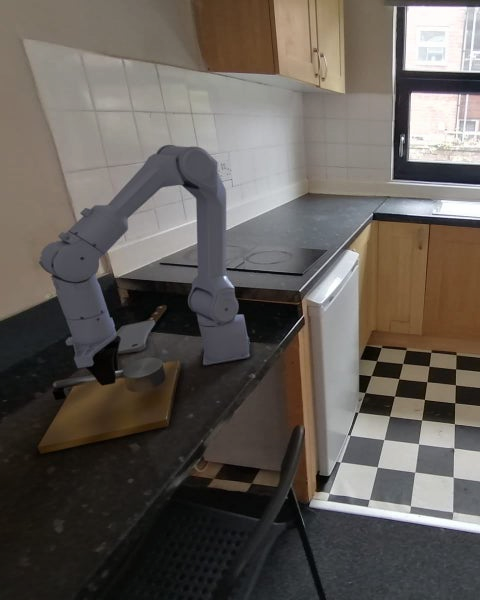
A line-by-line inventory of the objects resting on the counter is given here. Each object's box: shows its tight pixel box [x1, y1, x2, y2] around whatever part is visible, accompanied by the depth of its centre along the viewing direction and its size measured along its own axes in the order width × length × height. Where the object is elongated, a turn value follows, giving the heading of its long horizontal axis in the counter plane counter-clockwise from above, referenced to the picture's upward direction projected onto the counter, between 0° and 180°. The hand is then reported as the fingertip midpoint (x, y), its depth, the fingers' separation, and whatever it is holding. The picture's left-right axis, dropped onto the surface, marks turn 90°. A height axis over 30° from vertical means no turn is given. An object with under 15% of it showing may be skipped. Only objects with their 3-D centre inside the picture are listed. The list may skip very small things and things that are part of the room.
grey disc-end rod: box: [51, 357, 166, 401], centre depth 73 cm, size 17×6×3 cm, turn 111°
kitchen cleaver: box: [116, 304, 168, 355], centre depth 101 cm, size 24×1×10 cm
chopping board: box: [37, 359, 182, 455], centre depth 75 cm, size 18×20×2 cm
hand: (110, 380), depth 73 cm, fingers closed on grey disc-end rod
